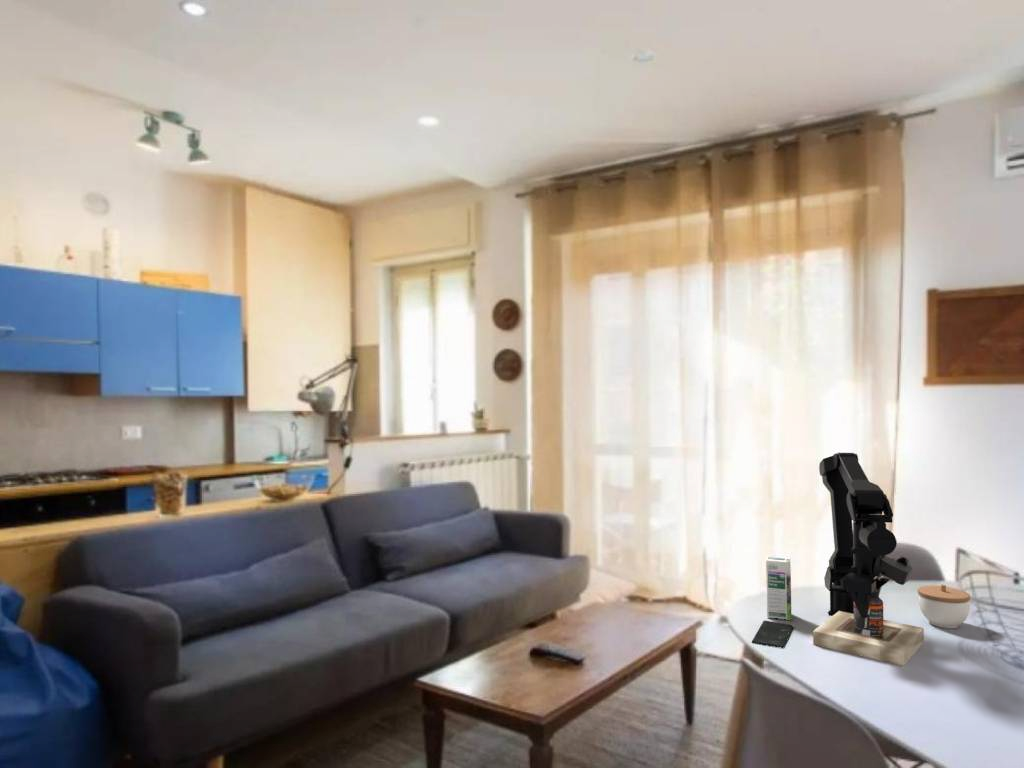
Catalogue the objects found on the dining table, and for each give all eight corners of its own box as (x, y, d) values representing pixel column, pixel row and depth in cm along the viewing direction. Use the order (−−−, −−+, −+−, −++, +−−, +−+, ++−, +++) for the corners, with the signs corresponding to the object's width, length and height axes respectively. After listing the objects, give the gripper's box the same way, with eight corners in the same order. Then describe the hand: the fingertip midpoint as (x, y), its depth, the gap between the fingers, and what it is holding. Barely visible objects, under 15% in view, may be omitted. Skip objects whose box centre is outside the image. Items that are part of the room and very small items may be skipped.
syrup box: (766, 618, 169) (765, 560, 169) (767, 611, 175) (766, 554, 175) (791, 621, 167) (790, 562, 167) (791, 613, 173) (790, 556, 173)
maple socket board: (813, 644, 152) (813, 630, 152) (839, 623, 165) (838, 610, 165) (903, 665, 140) (903, 651, 140) (924, 641, 153) (923, 627, 153)
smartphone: (751, 641, 153) (763, 619, 166) (751, 645, 153) (763, 624, 166) (783, 646, 150) (793, 624, 163) (783, 651, 150) (793, 628, 163)
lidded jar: (917, 613, 171) (917, 576, 171) (968, 620, 166) (968, 582, 166) (918, 627, 162) (917, 587, 162) (972, 634, 157) (971, 594, 157)
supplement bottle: (872, 645, 149) (871, 593, 149) (847, 636, 154) (847, 586, 154) (889, 640, 151) (888, 589, 151) (865, 631, 157) (864, 582, 157)
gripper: (896, 558, 140) (897, 634, 140) (918, 542, 154) (919, 611, 154) (839, 550, 148) (840, 621, 148) (864, 535, 162) (865, 601, 162)
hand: (868, 613), depth 153 cm, fingers closed on supplement bottle, 6 cm apart
